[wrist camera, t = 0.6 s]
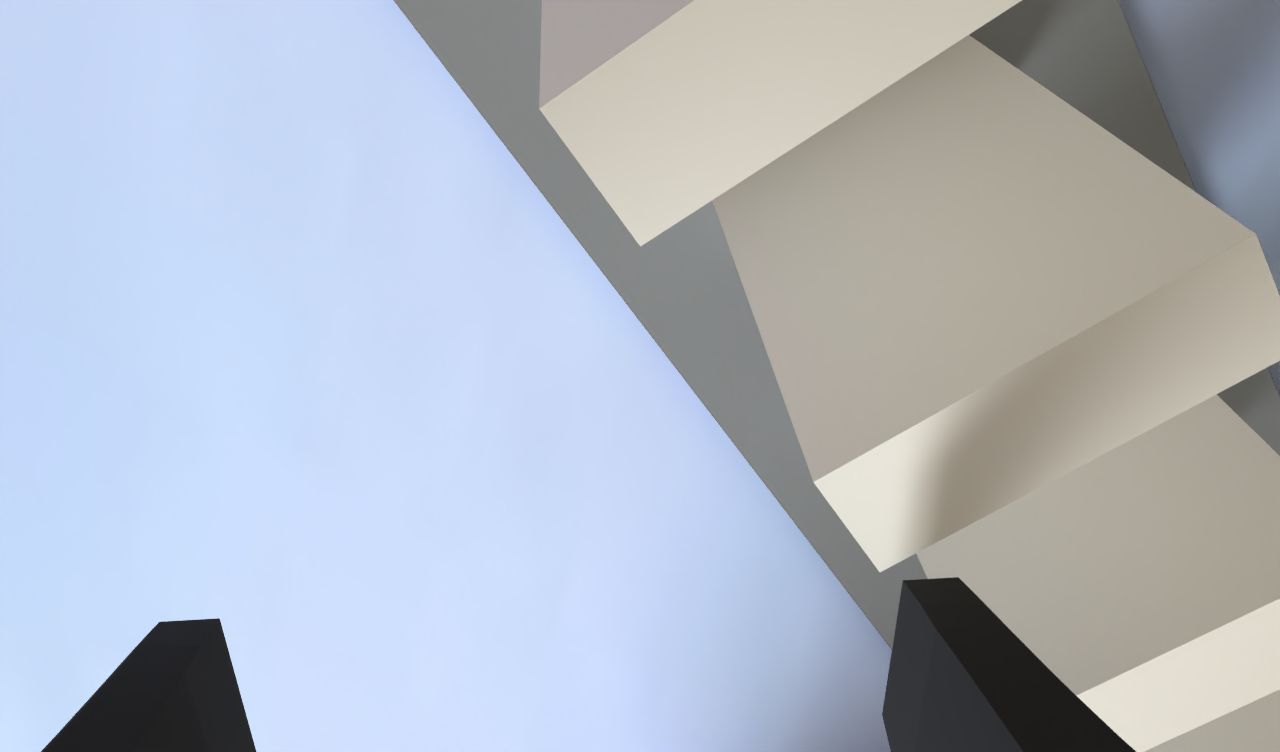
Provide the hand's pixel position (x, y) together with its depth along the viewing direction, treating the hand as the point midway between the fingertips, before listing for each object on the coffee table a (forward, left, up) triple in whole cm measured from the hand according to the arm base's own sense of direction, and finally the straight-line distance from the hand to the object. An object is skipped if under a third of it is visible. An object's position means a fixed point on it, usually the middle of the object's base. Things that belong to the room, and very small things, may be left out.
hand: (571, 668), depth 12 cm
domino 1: (+4, -6, -10) cm, 12 cm away
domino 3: (-6, -6, -10) cm, 13 cm away
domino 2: (-1, -6, -10) cm, 11 cm away
